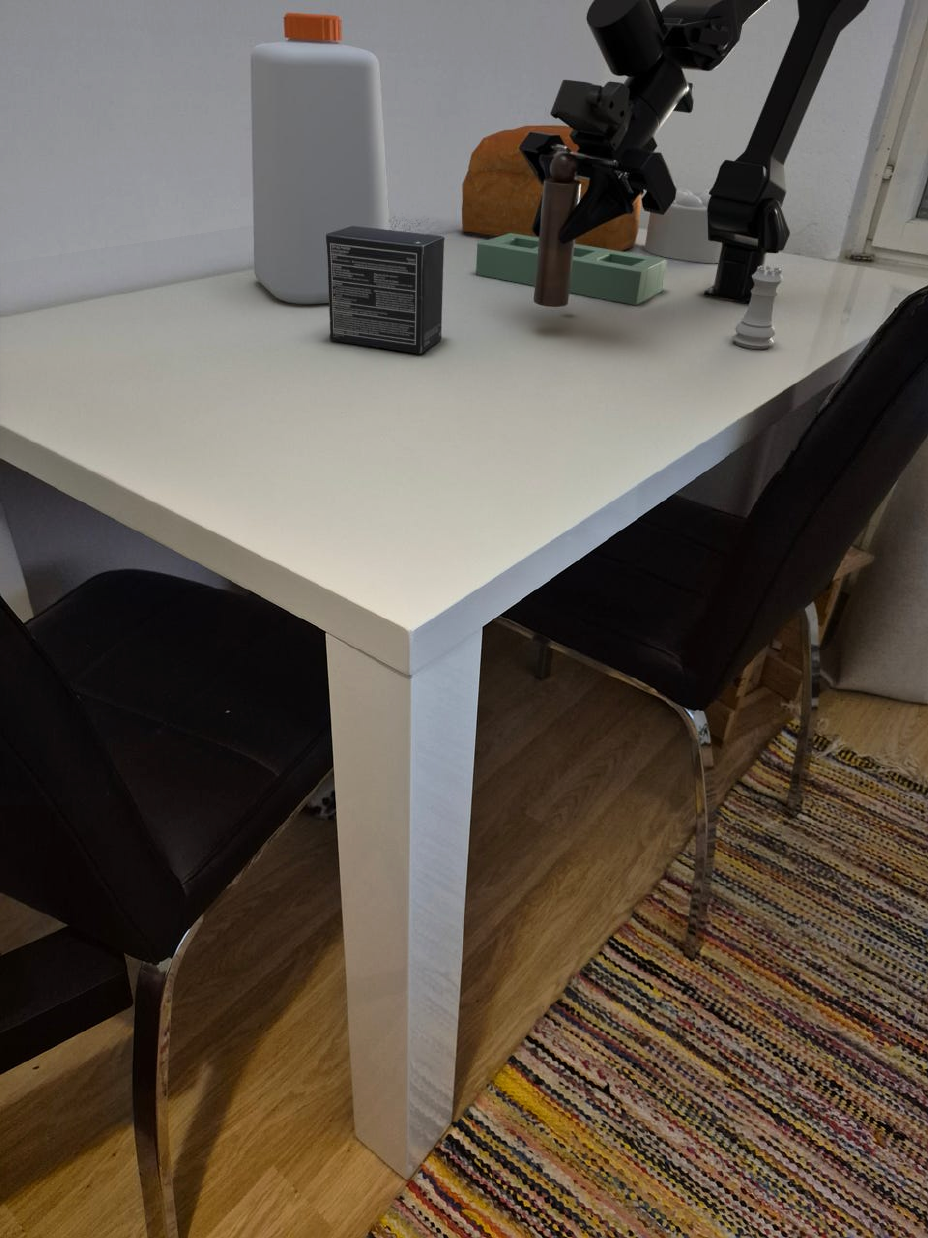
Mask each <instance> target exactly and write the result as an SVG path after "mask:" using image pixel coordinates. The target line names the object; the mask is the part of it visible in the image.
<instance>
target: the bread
mask: <svg viewBox="0 0 928 1238" xmlns="http://www.w3.org/2000/svg"><path fill="white" fill-rule="evenodd" d="M572 130H573V129H572V128H571V127H569V126H568V125H555V124H554V125H553V124H552V125H551V124H550V125H548V124H547V125H523V126H520V127H517V128H513V129H503V130H500V131H497V132H495V133H492V134H490V135H487V136H485V137H483V138H482V140H481V141H480V142H479V144H477V146H476V147H475V149H474V150H473V151H472V152H471V155H470V158H469V162H468V167H467V172H466V174H465V177H464V179H463V182H462V184H461V185H462V187H461V188H462V189H461V190H462V204H461V226H462V227H461V228H462V231H463V232H465V233H466V232H467V233H470V234H471V233H472V234H475V235H477V234H478V235H483V236H490V237H494V238H496V237H499V236H503V235H506V234H509V233H513V234H519V235H525V236H531V237H537V236H535V235H534V233H533V232H532V226H533V222H534V219H535V216H536V213H537V209H538V206H539V203H540V200H541V196H542V193H543V185H542V184H540V182H539V181H538V179H537V177H536V176H535V174H534V173H533V171H532V169H531V168H530V166H529V164H528V163H527V161H526V160H525V158H524V156H523V155H522V153H521V152H520V150H519V147H520V145H521V143H522V142H523V141H524V139H525V138H526V136H527V135H528V134H529V132H536V131H539V132H545V133H551V134H556V135H560V137H561V138H562V140H563V142H564V144H565V146H566V147H568V148H569V149H570V150H571V151H573V152H577V150H578V149H579V147H578V145H577V144H574V143H573V141H572V139H571V138H570V136H569V135H570V133H571V132H572ZM577 181H580V182H581V190H580V197H581V198H582V197H583V195H584V194H585V192H586V191H587V189H588V185H589V180H588V179H583V178H580V177H578V179H577ZM641 199H642V195H639V196H638V197H637V199H636V200H635V201H634V203H633V206H634V208H635V211H634V212H633V213H632V214H624V215H622V216H620V217H618V218H615V219H613V220H611V221H609V222H607V223H604V224H602V225H600V226H598V227H596V228H595V229H593V230H591V231H589V232H587V233H585V234H583V235H581V236H579V237H578V238H576V239H575V244H579V245H585V246H591V247H597V248H603V249H609V250H615V251H621V252H624V251H625V250H628V249H629V248H631V247H634V246H635V245H636V241H637V237H638V234H639V226H640V214H641V206H642V201H641ZM537 238H539V236H538V237H537Z"/></svg>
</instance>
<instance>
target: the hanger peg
mask: <svg viewBox="0 0 928 1238" xmlns="http://www.w3.org/2000/svg"><path fill="white" fill-rule="evenodd" d="M577 171H578V164H577V160H576V159H575V157H574V156H573V155H572V154H570V153H567V152H563V153H559V154H558V155H556V156H555V157H554V158H553V160H552V162H551V165H550V173H551V176H552V177H553V178H551V179H545V180H544V186H543V197H542V209H541V220H540V232H539V243H538V254H537V266H536V277H535V286H534V289H533V290H534V291H533V303H535V304H536V305H538V306H542V307H548V308H562V307H565V306H568V304H569V298H570V293H569V290H570V281H571V272H572V263H573V254H574V245H575V239H574V240H572V241H570V242H568V243H566V244H562V243H561V242H560V240H559V238H558V236H559V234H560V232H561V230H562V228H563V226H564V224H565V223H566V221H567V220H568V218H569V217H570V215H571V214H572V212H573V210H574V209H575V207H576V206H577V204H578V203H579V199H580V190H581V182H580V181H577V180H573V179H574V177H575V176H576V174H577Z"/></svg>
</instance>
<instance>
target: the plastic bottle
mask: <svg viewBox="0 0 928 1238" xmlns="http://www.w3.org/2000/svg"><path fill="white" fill-rule="evenodd" d="M283 28H284V29H283V30H284V38H285V39H287V40H283V41H276V42H266V43H265V42H264V43H260V44H257V45H255V46H254V47H253V48H252V50H251V53H250V105H251V106H250V107H251V109H250V110H251V161H252V164H251V165H252V216H253V217H252V219H253V220H252V221H253V268H254V269H253V271H254V276H255V278H256V280H257V281H258V282H259V283H260V284H261V285H262V286H264V288H265V289H267V291H268V292H270V294H272V295H273V296H274V297H275V298H276V299H278V300H279V301H282V302H284V303H288V304H289V303H290V304H296V305H319V304H329V285H328V255H327V244H326V234H327V233H331V232H334V231H338V230H341V229H344V228H347V227H351V226H358V227H367V228H376V229H384V230H391V226H390V210H389V209H390V208H389V193H388V192H389V191H388V179H387V165H386V164H387V162H386V147H385V133H384V132H385V131H384V116H383V101H382V83H381V69H380V61H379V60H378V58H377V57H376V55H375V54H374V53H373V52H372V51H370V50H368V49H367V50H366V49H363V48H359V47H355V46H353V45H352V46H351V45H347V44H343V43H340V41H343V31H342V30H343V26H342V20H341V17H340V16H339V15H336V14H321V13H320V14H318V13H301V12H286V13H285V14H284V16H283Z"/></svg>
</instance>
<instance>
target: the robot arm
mask: <svg viewBox="0 0 928 1238" xmlns="http://www.w3.org/2000/svg"><path fill="white" fill-rule="evenodd" d="M796 1H797V2H796V3H797V12H798V19H797V22H796V25H795V27H794V30H793V32H792V35H791V37H790V39H789V41H788V44H787V47H786V48H785V52H784V54H783V57H782V60H781V62H780V63H779V66H778V69H777V72H776V74H775V77H774V79H773V81H772V84H771V86H770V89H769V92H768V93H767V96H766V99H765V101H764V103H763V106H762V108H761V111H760V113H759V116H758V119H757V120H756V123H755V126H754V128H753V130H752V133H751V136H750V138H749V140H748V143H747V146H746V147H745V149H744V151H743V152H742V153H741V154H740V155H739V156H738V157H737V158H736V159H735V160H731V159H730V160H729V159H725V160H724V161H723V162H722V163H721V165H720V166H719V169H718V173H717V176H716V179H715V181H714V184H713V185H712V187H711V189H709V190H710V191H709V195H711V197H710V199H709V202H708V206H707V219H708V240H709V241H716V242H720V243H722V248H721V253H720V258H719V263H717V269H716V274H715V278H714V284H713V285H712V286H710V287H709V288H707V289H706V290H704V293H703V295H704V296H708V297H711V298H712V297H713V298H718V299H723V300H729V301H735V302H741V303H745V304H749V303H750V300H751V296H752V293H751V290H752V289H753V288H754V284H755V283H754V281H753V278H752V275H753V274H754V273H755V272H756V271H757V267H759V266H764V267H765V263H766V260H767V254H779V252H781V251H784V249H785V247H786V244H787V243H788V240H789V238H790V235H791V231H790V228H789V225H788V223H787V220H786V218H785V215H784V212H783V209H782V206H783V204H784V200H785V198H786V196H787V181H786V172H785V164H786V161H787V159H788V156H789V154H790V152H791V149H792V147H793V144H794V142H795V140H796V137H797V135H798V132H799V130H800V129H801V126H802V123H803V121H804V119H805V116H806V113H807V111H808V109H809V107H810V104H811V102H812V100H813V97H814V94H815V93H816V90H817V87H818V85H819V83H820V80H821V79H822V76H823V74H824V71H825V68H826V66H827V64H828V61H829V59H830V57H831V55H832V53H833V50H834V47H835V45H836V43H837V40H838V38H839V36H840V35H841V32H842V31H844V29H845V28H846V27H847V26H849V25H850V24H851V23H852V22H853V21H854V20H855V19H856V18H857V17H859V16H860V14H861V13H862V12H863V11H864V10H865V9H866V8H867V6H868V4H869V2H870V0H796ZM768 2H770V0H674V1H671V2H670V3H668V4H667V5H665V6H664V7H663V9H660V6H659V4H658V1H657V0H593V1H592V2H591V4H590V6H589V8H587V9H588V10H587V12H586V18H585V19H586V22H587V24H588V27H589V30H590V31H591V34H592V35H593V38H594V40H595V42H596V44H597V46H598V48H599V50H600V53H601V55H602V56H603V59H604V61H605V63H606V65H607V67H608V70H609V72H611V74H613V75H614V76H617V77H623V76H624V77H627V78H626V79H625V80H624V82H619V81H618V82H617V81H607V82H606V83H605V84H604V86H602V85H601V84H600V85H598V84H594V83H591V82H588V81H582V80H572V79H563V80H562V81H561V84H560V87H559V89H558V91H557V94H556V97H555V100H554V102H553V104H552V108H551V110H550V113H549V114H550V116H551V117H553V118H554V119H559V120H560V121H561V122H562V123H564V124H565V125H566V126H568V127H571V128H572V129H573V130H572V132H571V133H570V135H569V136H570V138H571V139H572V141H573V143H574V144H577V145H578V147H579V149H578V150H577V152H573V151H571V150H570V149H569V148H568V147H566V146H565V144H564V142H563V140H562V138H561V137H560V135H556V134H551V133H545V132H539V131H536V132H529V134H528V135H527V136H526V138H525V139H524V141H523V142H522V143H521V145H520V147H519V150H520V152H521V153H522V155H523V156H524V158H525V160H526V161H527V163H528V164H529V166H530V168H531V169H532V171H533V173H534V174H535V176H536V177H537V179H538V181H539V182H540V184H542V185H543V186H544V180H545V179H551V178H553V177H552V176H551V173H550V165H551V162H552V160H553V158H554V157H555V156H556V155H558V154H559V153H563V152H567V153H570V154H572V155H573V156H574V157H575V159H576V160H577V164H578V171H577V174H576V176H575V177H574V179H573V180H577V179H578V177H580V178H583V179H588V180H589V185H588V189H587V191H586V192H585V194H584V195H583V197H582V198H581V197H580V199H579V203H578V204H577V206H576V207H575V209H574V210H573V212H572V214H571V215H570V217H569V218H568V220H567V221H566V223H565V224H564V226H563V228H562V230H561V232H560V234H559V236H558V238H559V240H560V242H561V243H562V244H566V243H568V242H570V241H572V240H574V239H576V238H578V237H579V236H581V235H583V234H585V233H587V232H589V231H591V230H593V229H595V228H596V227H598V226H600V225H602V224H604V223H607V222H609V221H611V220H613V219H615V218H618V217H620V216H622V215H624V214H632V213H633V212H634V211H635V208H634V206H633V203H634V201H635V200H636V199H637V197H638V196H639V195H641V206H642V209H643V211H644V212H648V213H650V212H652V213H656V214H660V215H664V214H665V212H666V211H667V210H668V208H669V207H670V206H671V204H672V203H673V201H674V200H675V197H676V191H677V189H678V188H677V184H676V181H675V180H674V178H673V175H672V173H671V171H670V169H669V167H668V164H667V162H666V160H665V158H664V156H663V154H662V152H661V151H655V150H656V149H657V148H658V144H657V141H656V139H655V137H656V135H657V133H658V132H659V130H660V129H661V127H662V126H663V125H664V124H665V122H666V120H667V119H668V118H669V117H670V116H671V114H672V112H679V113H687V114H691V113H692V112H693V110H694V104H695V101H694V96H693V89H694V84H693V82H688V80H687V77H686V75H685V73H684V71H683V70H690V71H691V70H693V71H702V72H710V71H711V72H712V71H714V70H715V69H717V68H718V67H719V66H720V65H721V64H722V63H724V61H725V59H726V58H727V57H728V56H729V55H730V53H731V52H732V51H733V50H734V48H735V47H736V46H737V45H738V44H739V42H740V40H741V36H742V29H743V26H744V25H745V24H746V22H747V21H748V20H749V19H750V18H751V17H752V16H754V15H755V14H756V13H757V12H759V10H761V8H763V7H764V6H765V5H766V4H767V3H768ZM542 197H543V193H542V196H541V200H540V203H539V206H538V209H537V213H536V216H535V219H534V222H533V226H532V232H533V233H534V235H535V236H537V237H538V236H539V232H540V220H541V209H542Z"/></svg>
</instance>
